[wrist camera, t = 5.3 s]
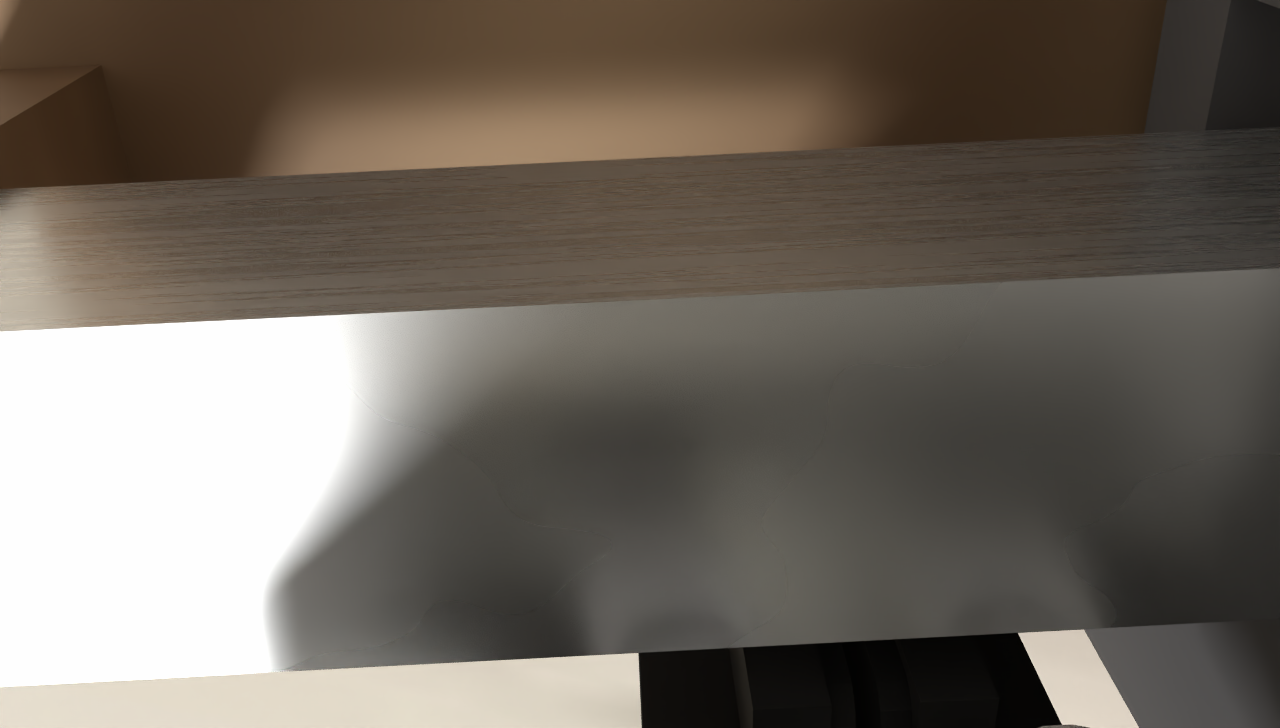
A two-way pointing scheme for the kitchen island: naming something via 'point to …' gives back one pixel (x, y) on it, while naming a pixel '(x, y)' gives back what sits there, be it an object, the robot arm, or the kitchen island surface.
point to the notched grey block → (1219, 651)
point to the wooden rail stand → (544, 81)
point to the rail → (638, 405)
